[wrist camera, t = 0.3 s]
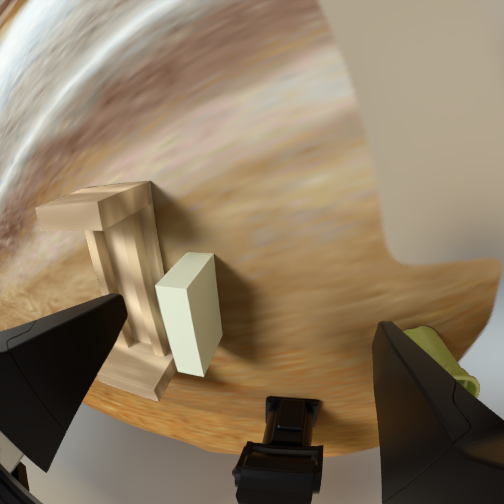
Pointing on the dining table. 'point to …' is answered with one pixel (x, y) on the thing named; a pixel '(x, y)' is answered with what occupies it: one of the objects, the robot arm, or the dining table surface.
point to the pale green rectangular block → (191, 311)
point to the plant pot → (443, 356)
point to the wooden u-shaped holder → (123, 277)
